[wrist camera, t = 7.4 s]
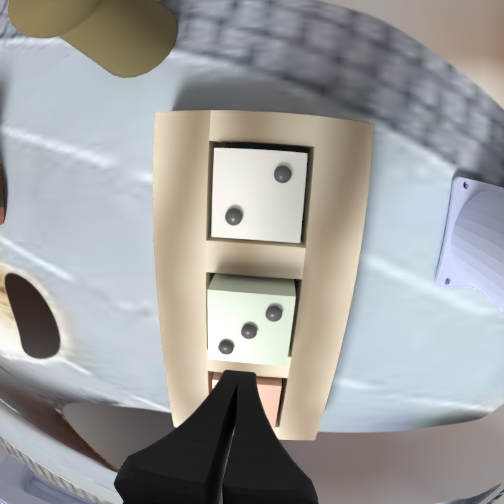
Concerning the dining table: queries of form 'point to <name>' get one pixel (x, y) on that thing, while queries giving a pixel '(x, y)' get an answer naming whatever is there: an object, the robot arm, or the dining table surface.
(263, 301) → the three dot key
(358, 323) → the dining table surface
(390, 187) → the dining table surface
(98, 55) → the cork
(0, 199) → the pottery mug
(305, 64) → the dining table surface
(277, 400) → the one dot key
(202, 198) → the wooden puzzle board
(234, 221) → the two dot key
